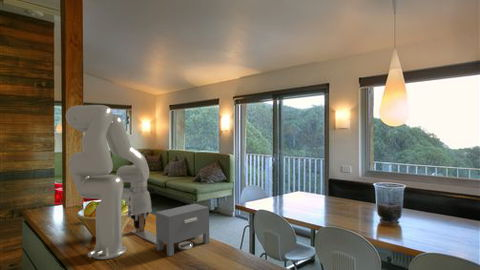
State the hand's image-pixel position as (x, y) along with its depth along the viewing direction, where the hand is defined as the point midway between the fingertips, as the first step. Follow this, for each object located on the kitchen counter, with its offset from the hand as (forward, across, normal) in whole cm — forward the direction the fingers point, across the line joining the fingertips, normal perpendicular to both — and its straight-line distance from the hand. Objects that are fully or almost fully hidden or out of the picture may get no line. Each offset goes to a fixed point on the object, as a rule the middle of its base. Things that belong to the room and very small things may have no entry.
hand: (139, 227), depth 146 cm
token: (+3, +5, -32) cm, 32 cm away
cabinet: (+3, +5, -30) cm, 31 cm away
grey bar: (+3, 0, -8) cm, 8 cm away
